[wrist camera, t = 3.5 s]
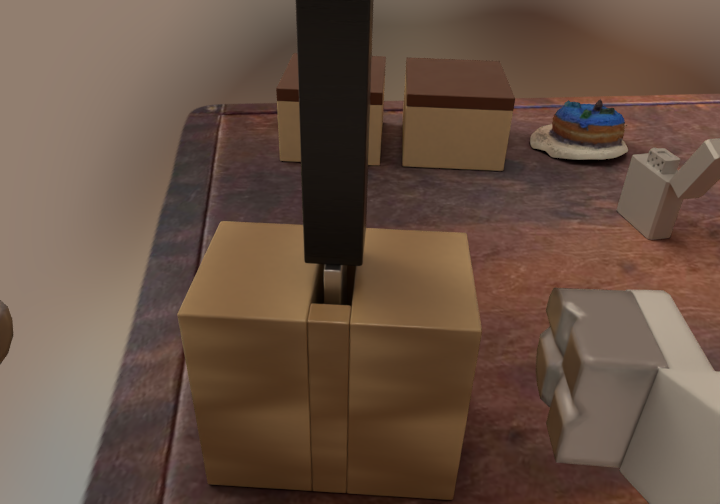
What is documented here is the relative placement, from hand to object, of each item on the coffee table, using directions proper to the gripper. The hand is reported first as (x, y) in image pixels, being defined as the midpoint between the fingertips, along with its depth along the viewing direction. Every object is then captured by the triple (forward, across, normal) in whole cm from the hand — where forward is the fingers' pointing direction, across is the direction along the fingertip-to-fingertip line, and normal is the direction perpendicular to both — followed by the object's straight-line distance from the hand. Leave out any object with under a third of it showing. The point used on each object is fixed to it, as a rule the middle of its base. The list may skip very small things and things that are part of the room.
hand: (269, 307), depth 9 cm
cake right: (+43, -7, +16) cm, 47 cm away
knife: (+12, 0, +16) cm, 20 cm away
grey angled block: (+30, -20, +17) cm, 40 cm away
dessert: (+44, -18, +17) cm, 50 cm away
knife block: (+12, 0, +16) cm, 20 cm away
